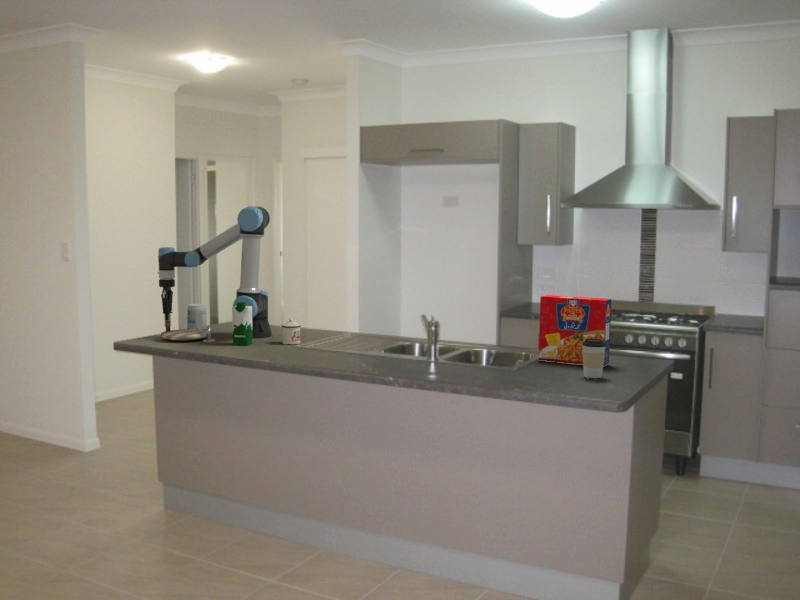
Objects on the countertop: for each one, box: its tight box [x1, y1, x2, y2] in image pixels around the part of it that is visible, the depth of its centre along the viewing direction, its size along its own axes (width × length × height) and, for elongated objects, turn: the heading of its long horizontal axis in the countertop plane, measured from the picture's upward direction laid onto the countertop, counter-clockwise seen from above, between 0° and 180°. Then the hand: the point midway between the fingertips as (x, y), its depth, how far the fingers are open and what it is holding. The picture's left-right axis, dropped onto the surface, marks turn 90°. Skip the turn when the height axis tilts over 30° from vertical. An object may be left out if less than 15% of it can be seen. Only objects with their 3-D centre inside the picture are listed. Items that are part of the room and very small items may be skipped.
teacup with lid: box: [281, 318, 302, 345], centre depth 389 cm, size 12×9×12 cm
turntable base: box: [169, 339, 200, 343], centre depth 397 cm, size 14×14×2 cm
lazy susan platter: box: [160, 321, 207, 340], centre depth 396 cm, size 22×22×7 cm
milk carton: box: [231, 302, 253, 347], centre depth 384 cm, size 9×9×20 cm
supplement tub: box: [186, 303, 208, 331], centre depth 418 cm, size 10×10×15 cm
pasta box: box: [538, 294, 612, 366], centre depth 344 cm, size 28×8×28 cm, turn 60°
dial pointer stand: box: [202, 326, 216, 343], centre depth 391 cm, size 5×4×7 cm
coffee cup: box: [582, 339, 606, 378], centre depth 315 cm, size 9×9×15 cm
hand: (167, 326), depth 402 cm, fingers closed
